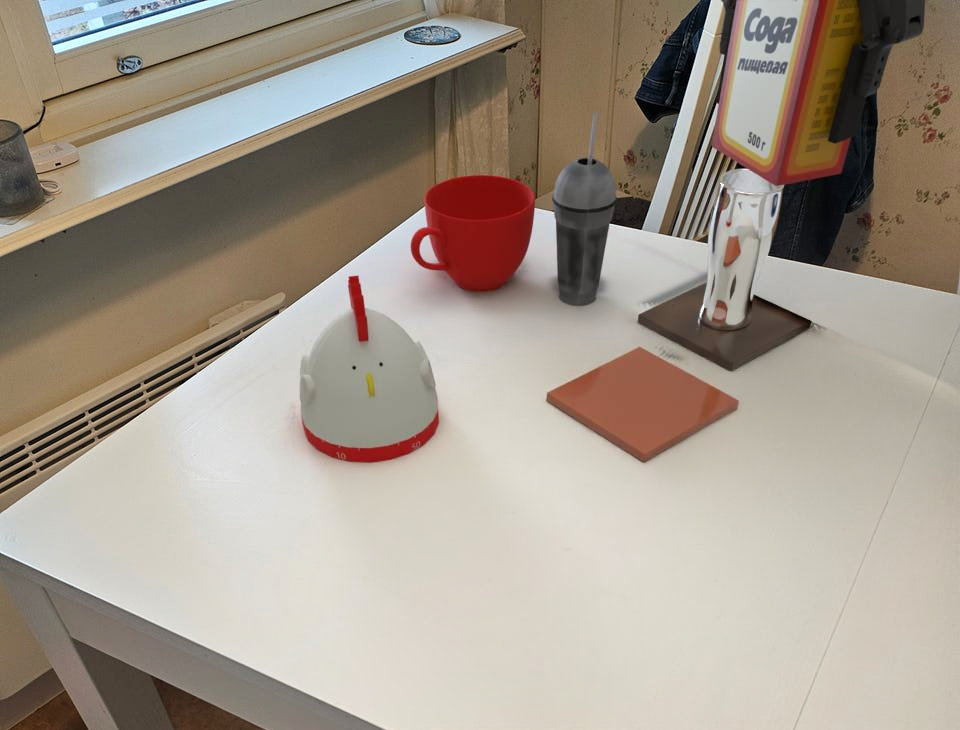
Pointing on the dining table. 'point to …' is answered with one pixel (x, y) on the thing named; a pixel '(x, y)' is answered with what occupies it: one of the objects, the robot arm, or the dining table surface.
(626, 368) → the terracotta tile
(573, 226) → the beverage cup
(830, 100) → the baking soda box
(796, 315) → the walnut board
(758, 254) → the beer glass
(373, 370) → the kitchen timer
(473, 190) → the ceramic cup
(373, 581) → the dining table surface
